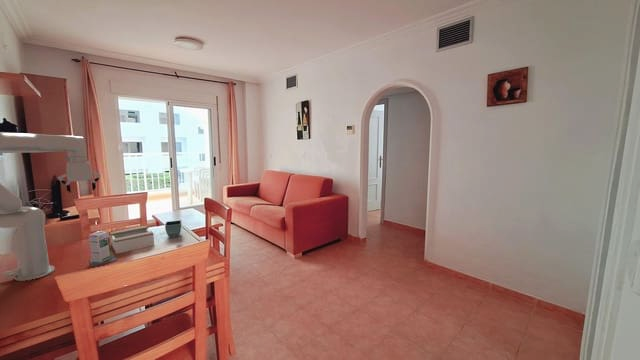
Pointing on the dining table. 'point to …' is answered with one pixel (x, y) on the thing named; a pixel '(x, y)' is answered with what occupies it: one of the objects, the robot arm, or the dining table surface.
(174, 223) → the flower pot
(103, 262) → the placing mat
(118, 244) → the slotted crate
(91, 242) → the syrup box
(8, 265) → the dining table surface
